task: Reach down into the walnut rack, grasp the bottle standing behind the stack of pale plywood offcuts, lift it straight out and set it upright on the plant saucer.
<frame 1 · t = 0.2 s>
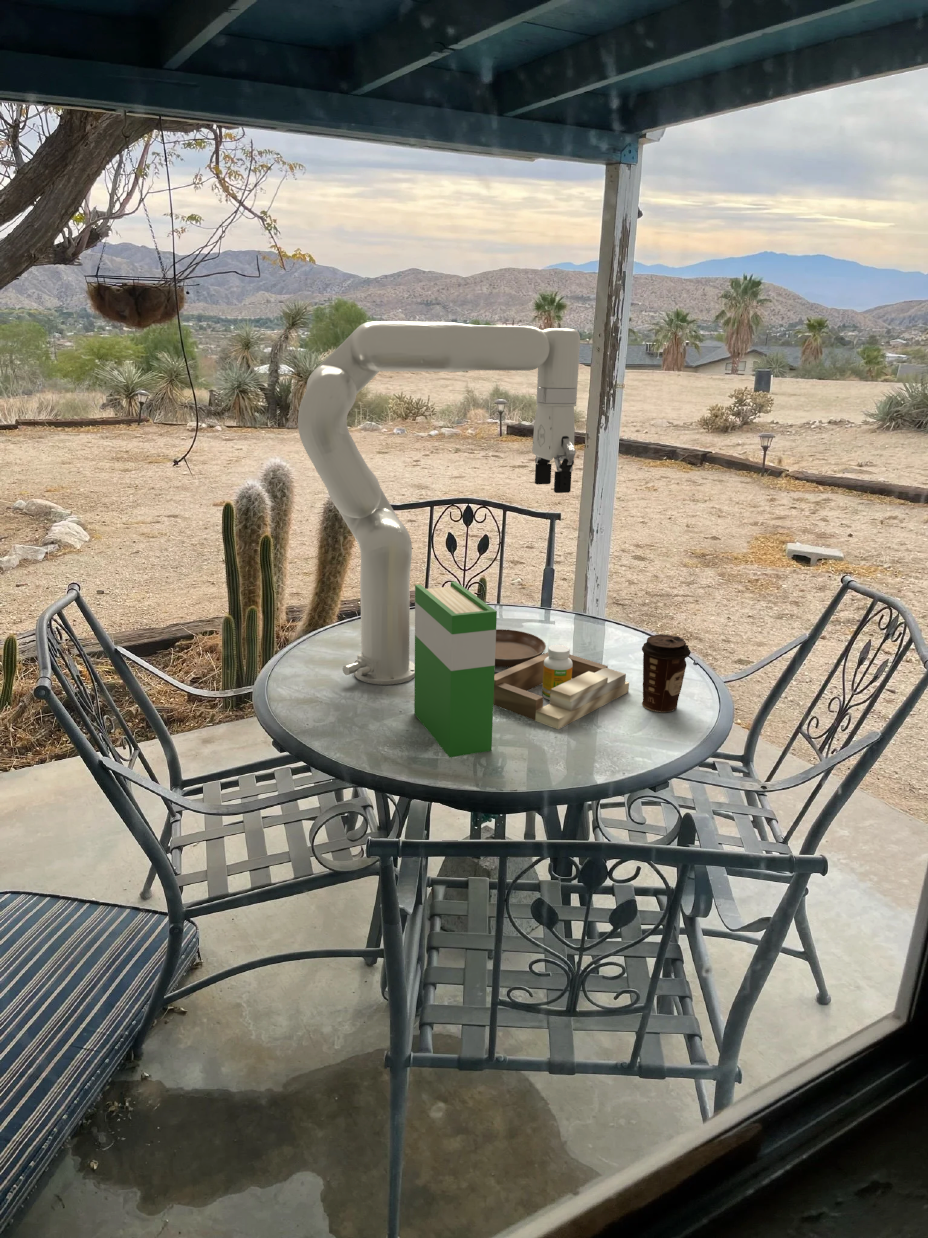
hand: (552, 488, 165), 37 cm above the table, tool pointing down, fingers open, 9 cm apart
supplement bottle: (555, 697, 161), resting in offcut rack
coffee cup: (660, 707, 158), on the table
plant saucer: (503, 657, 181), on the table
hardback book: (451, 732, 146), on the table
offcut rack: (556, 696, 161), on the table
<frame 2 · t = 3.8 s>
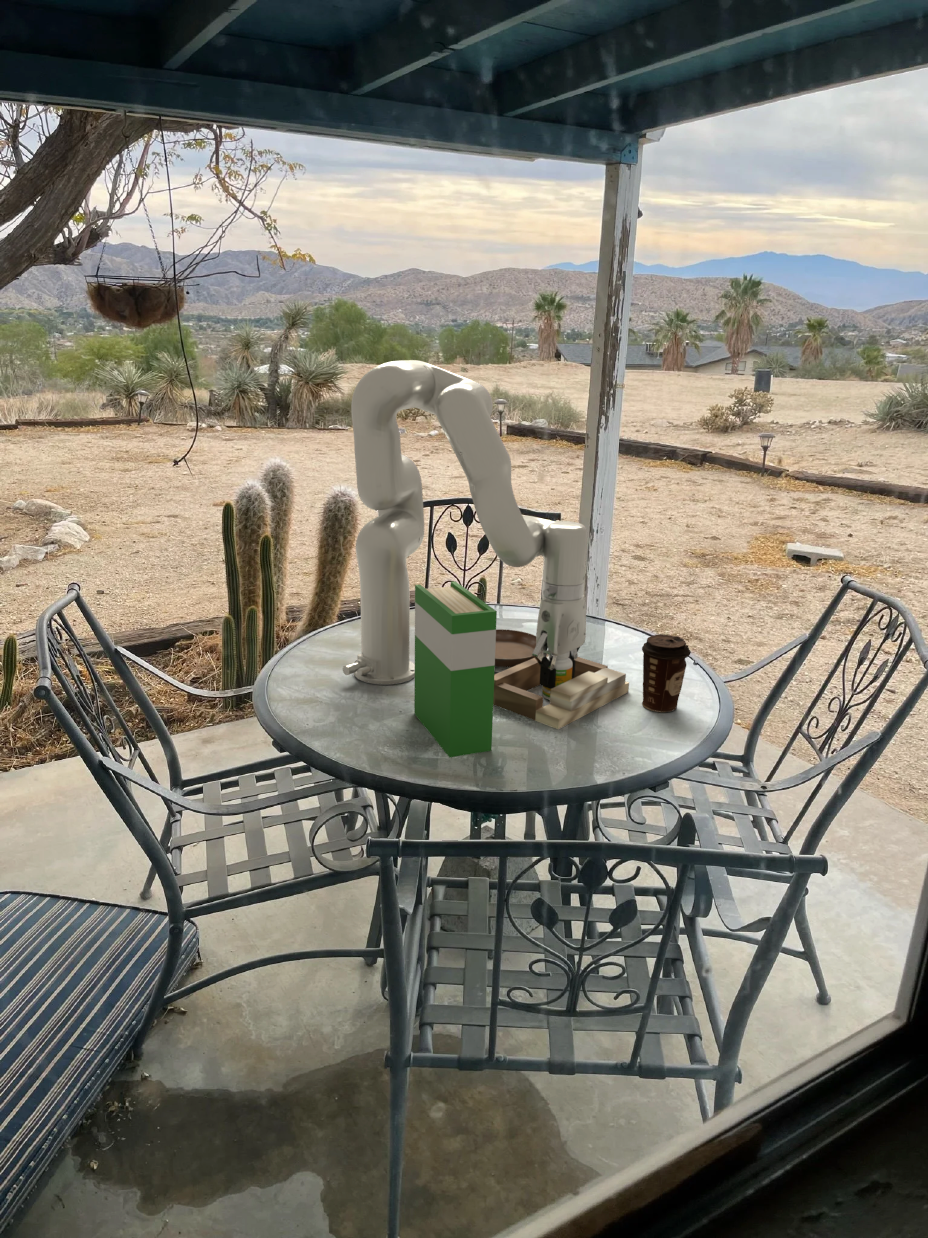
hand: (557, 681, 160), 3 cm above the table, tool pointing down, fingers closed on supplement bottle, 5 cm apart
supplement bottle: (556, 697, 161), resting in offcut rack, touching gripper
everything else where it was.
when the fingers open (7 cm above the table, at t = 11.0 s): supplement bottle drops 1 cm, resting on plant saucer.
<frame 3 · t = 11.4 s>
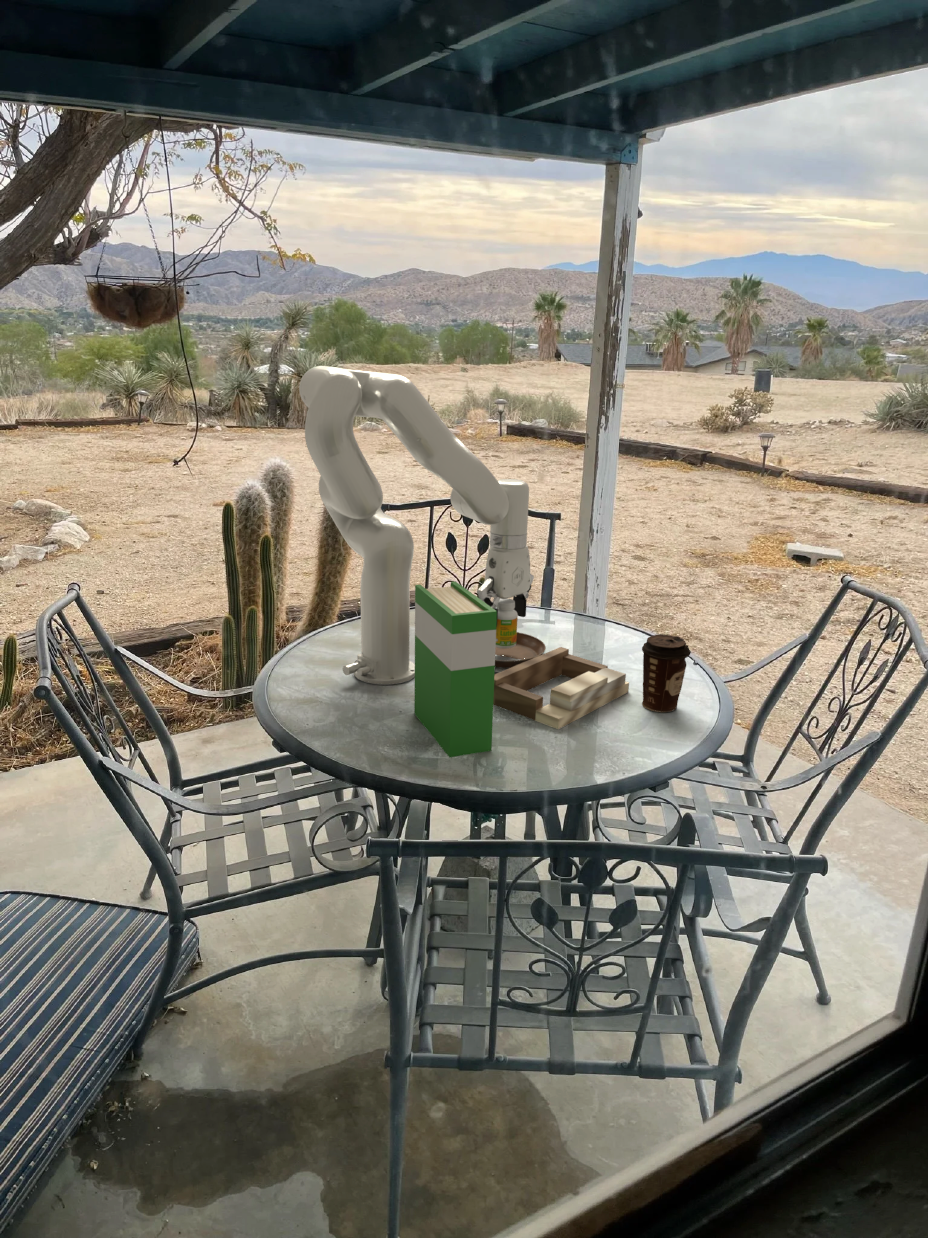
hand: (505, 620, 179), 8 cm above the table, tool pointing down, fingers open, 9 cm apart
supplement bottle: (503, 645, 180), point 2 cm above the table, touching plant saucer
plant saucer: (503, 658, 181), on the table, touching supplement bottle
everything else where it was.
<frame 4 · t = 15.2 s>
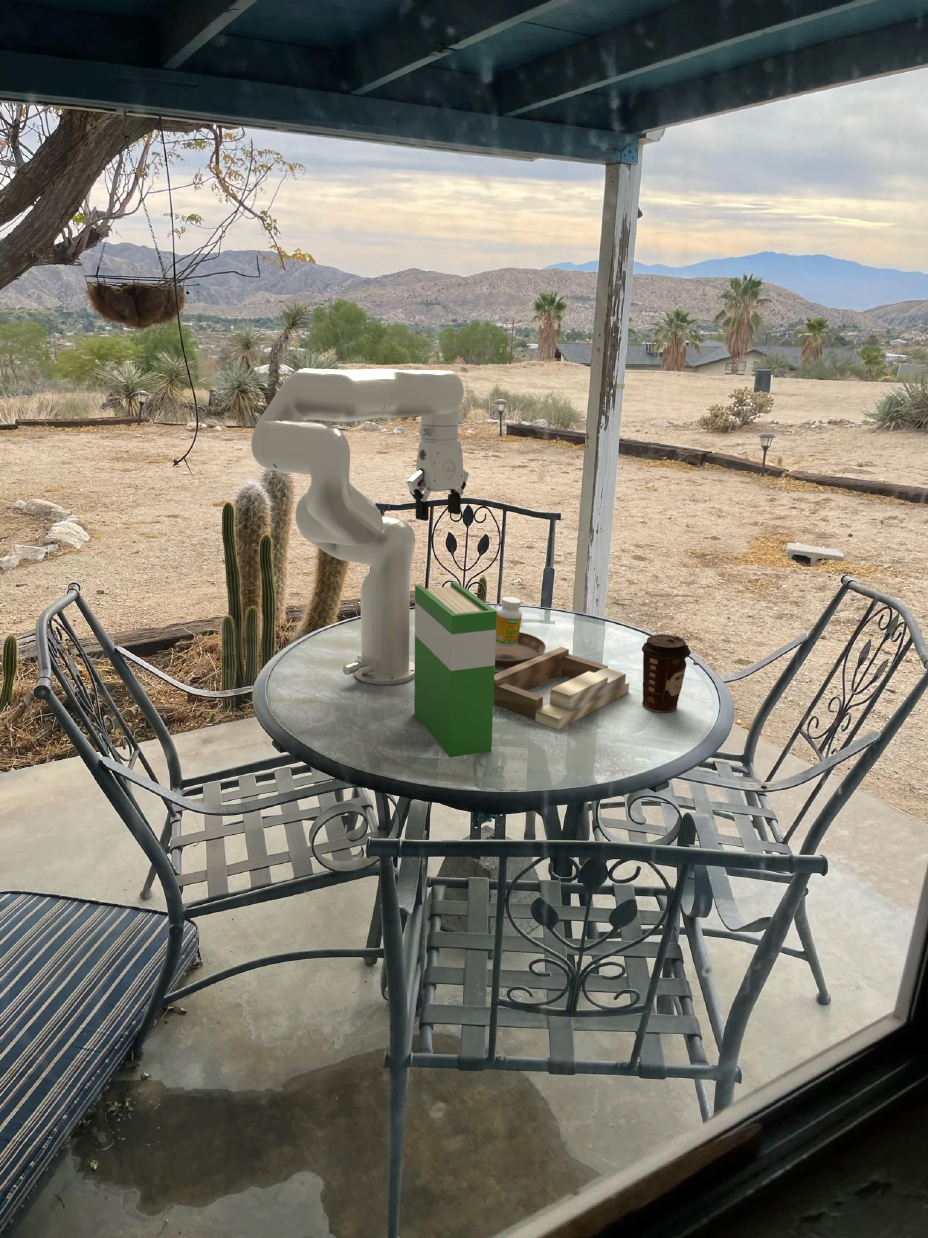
hand: (438, 516, 178), 28 cm above the table, tool pointing down, fingers open, 9 cm apart
supplement bottle: (504, 643, 180), point 3 cm above the table
plant saucer: (503, 658, 181), on the table
everything else where it was.
at the end: supplement bottle inside the target area on the plant saucer (0.1 cm from its centre), point 3.4 cm above the plant saucer's base; supplement bottle tilted 7°; the gripper is holding nothing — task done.
